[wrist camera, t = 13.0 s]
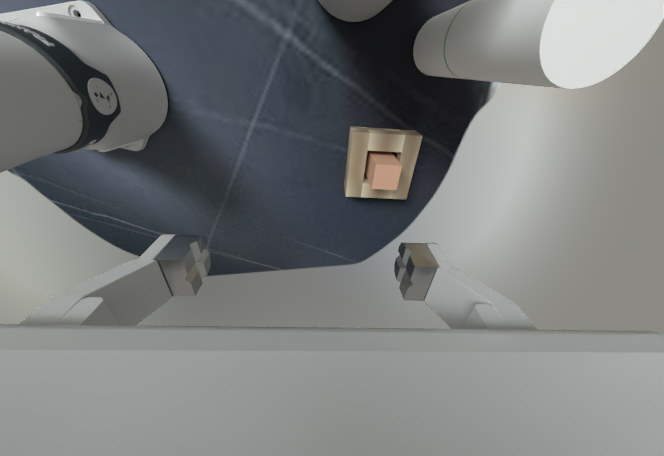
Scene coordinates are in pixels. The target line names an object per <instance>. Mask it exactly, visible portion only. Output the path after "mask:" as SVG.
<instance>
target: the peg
mask: <svg viewBox="0 0 664 456" xmlns="http://www.w3.org/2000/svg"><path fill="white" fill-rule="evenodd" d="M401 169H402V165H401V164H400V162H399V161H398V160H397V159H396V157H395V156H394V155H393V154H392V152H385V151H367V158H366V164H365V174H366V176H367V179H368V181H369V184H370V186H371V189H383V190H397V186H398V182H399V177H400V173H401Z"/></svg>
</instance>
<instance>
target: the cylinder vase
mask: <svg viewBox="0 0 664 456" xmlns="http://www.w3.org/2000/svg"><path fill="white" fill-rule="evenodd" d="M318 1H319V3H320V4H321V5H322V6H323V7H324V8H325V9H326V10H327V11H328V12H329V13H330V14H331V15H333V16H335V17H336V18H338V19H341V20H344V21H348V22H359V21H364V20H367V19H369V18H371V17H373V16H375V15H376V14H378V13H379V12H380V11H382V10H383V9H384V8H385V7H386V6H387V5H388V4H389V3H390V2H391V1H392V0H318Z"/></svg>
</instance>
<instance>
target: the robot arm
mask: <svg viewBox="0 0 664 456" xmlns="http://www.w3.org/2000/svg"><path fill="white" fill-rule="evenodd" d="M78 11H79V13H80V14H81V18H80V17H79V16H78ZM167 110H168V99H167V93H166V89H165V86H164V83H163V80H162V78H161V76H160V74H159V72H158V70H157V69H156V67H155V65H154V64H153V62H152V61H151V60H150V58H149V57H148V56H147V55H146V54H145V53H144V51H143V50H142V49H141V48H140V47H139V46H138V45H136V44H135V43H134V42H133V41H132V40H130V39H129V38H128V37H126V36H125V35H123V34H122V33H120V32H119V31H118V30H116V29H115V28H114V27H113V26H112V25H111V24H110V23H109V21H108V20H107V19H106V18H105V17H104V15H103V14H102V13H101V12H100V11H99V10H98V9H97V8H96V7H95V6H94V5H93V4H92V3H90V2H88V1H80V0H78V1H72V2H66V3H61V4H55V5H49V6H43V7H37V8H32V9H26V10H20V11H14V12H9V13H3V14H0V173H1V172H3V171H6V170H8V169H11V168H13V167H16V166H18V165H21V164H24V163H26V162H29V161H32V160H34V159H37V158H40V157H43V156H46V155H49V154H51V153H53V154H60V153H67V152H74V151H78V150H81V149H84V150H98V151H99V152H107V151H110V150H114V149H117V148H123V149H128V150H132V151H140V150H143V149H144V148H145V147H146V144H147V142H148V139H149V137H150V135H151V134H153V133H154V132H155V131H157V130H158V129H159V128H160V127H161V126H162V124H163V122H164V121H165V118H166V115H167ZM206 246H207V242H206V239H205V237H203V236H196V235H176V234H163V235H161V236H160V237H159V238H158V239H157V240H156V241H155V242H154V243H153V244H152V245H151V246H150V247H149V248H148V249H147V250H146V251H145V252H144V253H143V254H142V255H141V256H140V257H139V259H138V260H131V261H129V262H126V263H124V264H122V265H120V266H118V267H115V268H113V269H111V270H109V271H106V272H104V273H102V274H100V275H97V276H95V277H93V278H91V279H89V280H87V281H84V282H82V283H80V284H77V285H75V286H73V287H71V288H68V289H66V290H64V291H62V292H60V293H57V294H55V295H53V296H52V297H51V298H50V299H48V300H47V301H46V302H45V303H44V304H42V305H41V306H40V307H39V308H38V309H37V310H35V311H34V312H33V313H32V314H31V315H29V316H28V317H27V318H26V319H25V320H24V321H22V322H21V323H20V324H0V456H664V334H662V333H658V332H651V331H593V330H591V331H590V330H537V329H536V328H535V327H534V325H533V324H532V323H531V322H530V320H529V319H528V318H527V317H526V316H525V314H524V313H523V312H522V311H521V309H520V308H519V307H518V306H517V304H515V303H514V302H512V301H510V300H509V299H507V298H506V297H504V296H502V295H500V294H499V293H497V292H496V291H494V290H492V289H491V288H489V287H487V286H486V285H484V284H483V283H481V282H479V281H478V280H476V279H474V278H473V277H471V276H469V275H468V274H466V273H465V272H463V271H461V270H460V269H458V268H454V267H453V266H452V264H451V263H450V261H449V260H448V258H447V257H446V256H445V254H444V252H443V251H442V249H441V248H440V246H439V245H438V244H437V243H401V245H400V246H399V250H398V251H399V253H400V255H399V256H398V257H397V258H396V261H395V276H396V279H397V280H398V281H399V282H400V283H401V284H400V290H401V293H402V296H403V299H404V300H418V301H424V302H425V303H426V304H427V305H428V306H429V307H430V308H431V309H432V310H433V311H434V312H435V313H436V314H437V315H438V316H439V317H440V318H441V319H442V320H443V321H444V322H445V323H446V324H447V325H448V326H449V327H450V328H451V329H398V328H316V327H219V326H216V327H215V326H135V325H137V324H138V323H139V322H141V321H142V320H143V319H145V318H146V317H147V316H149V315H150V314H151V313H152V312H154V311H155V310H156V309H158V308H159V307H160V306H162V305H163V304H164V303H166V302H167V301H168V300H169V299H171V298H172V296H195V295H196V294H197V292H198V290H199V288H200V287H201V285H202V280H201V279H202V278H203V277H205V276H206V275H207V274H208V272H209V270H210V266H211V256H210V253H209V252H208V251H207V250H206V249H205V247H206Z"/></svg>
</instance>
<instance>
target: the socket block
mask: <svg viewBox="0 0 664 456" xmlns="http://www.w3.org/2000/svg"><path fill="white" fill-rule="evenodd" d="M422 137H423V136H422V135H420V134H419V133H417V132H416V131H415V130H399V129H384V128H368V127H353V126H350V133H349V143H348V153H347V163H346V173H345V182H344V190H345V196H346V197H365V198H387V199H406V198H407V194H408V190H409V187H410V183H411V179H412V175H413V171H414V167H415V163H416V160H417V156H418V152H419V148H420V144H421V140H422ZM367 151H385V152H394V156H395V157H396V159H397V160H398V161H399V162H400V164H401V165H402V169H401V173H400V177H399V182H398V186H397V190H383V189H371V186H370V184H369V181H368V179H367V176H366V175H364V171H365V164H366V158H367Z"/></svg>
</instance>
